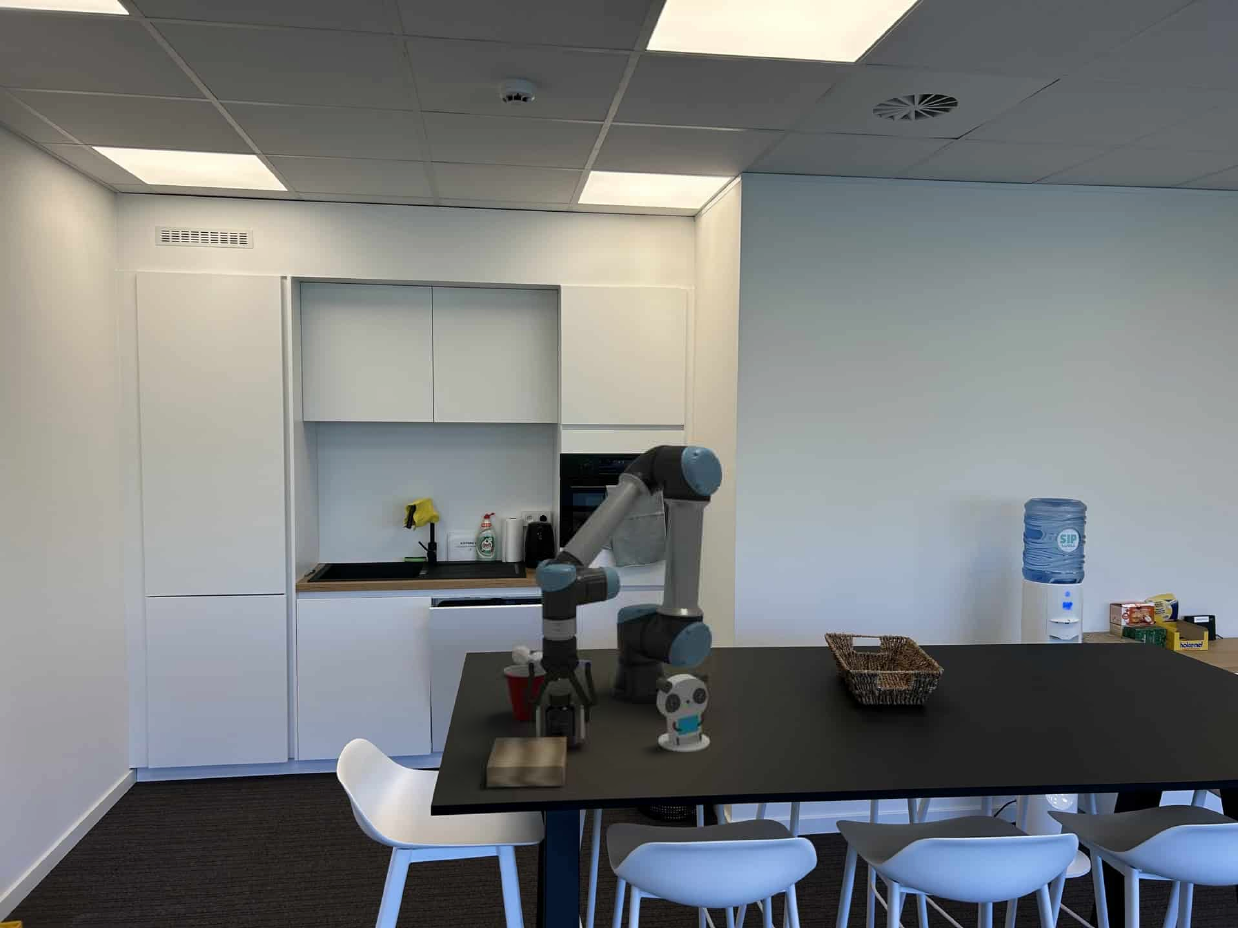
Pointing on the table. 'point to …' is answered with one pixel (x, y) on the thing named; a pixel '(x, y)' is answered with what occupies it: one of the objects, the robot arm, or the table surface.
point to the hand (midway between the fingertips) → (560, 736)
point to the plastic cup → (522, 689)
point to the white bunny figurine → (525, 655)
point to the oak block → (527, 762)
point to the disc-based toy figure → (683, 711)
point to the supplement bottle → (561, 717)
